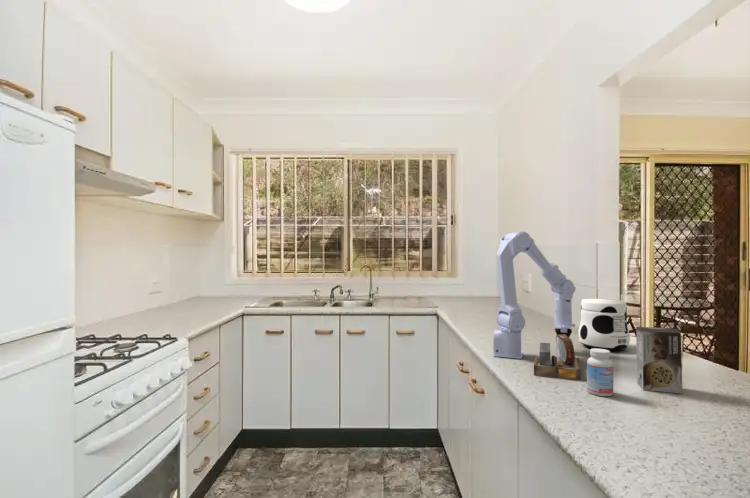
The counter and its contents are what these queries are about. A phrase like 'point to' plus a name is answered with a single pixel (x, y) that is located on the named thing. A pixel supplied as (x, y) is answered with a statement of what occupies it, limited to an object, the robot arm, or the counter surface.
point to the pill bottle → (600, 373)
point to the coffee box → (659, 359)
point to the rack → (554, 365)
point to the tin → (565, 349)
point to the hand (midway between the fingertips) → (563, 348)
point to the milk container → (604, 324)
